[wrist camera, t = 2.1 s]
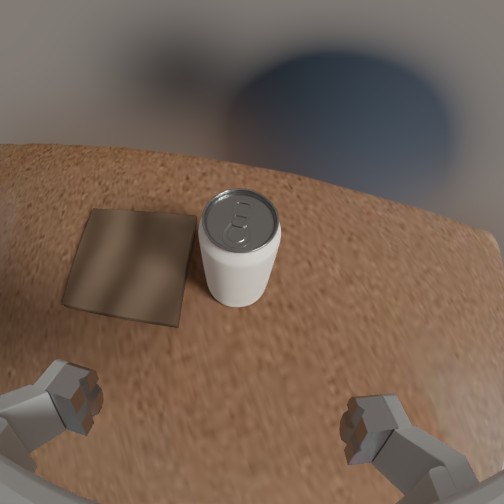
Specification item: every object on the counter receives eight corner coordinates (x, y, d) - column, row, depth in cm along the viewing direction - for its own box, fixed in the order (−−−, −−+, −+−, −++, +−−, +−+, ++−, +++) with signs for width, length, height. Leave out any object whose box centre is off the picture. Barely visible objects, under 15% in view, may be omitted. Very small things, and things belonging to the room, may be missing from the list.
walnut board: (66, 307, 29) (61, 304, 28) (96, 213, 35) (93, 208, 34) (178, 327, 29) (176, 325, 28) (197, 221, 35) (196, 215, 34)
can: (200, 302, 30) (185, 248, 20) (214, 248, 33) (208, 178, 23) (261, 313, 30) (279, 266, 20) (270, 259, 33) (288, 191, 23)
